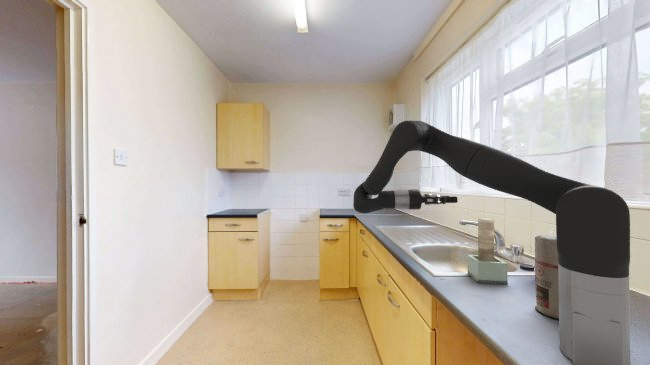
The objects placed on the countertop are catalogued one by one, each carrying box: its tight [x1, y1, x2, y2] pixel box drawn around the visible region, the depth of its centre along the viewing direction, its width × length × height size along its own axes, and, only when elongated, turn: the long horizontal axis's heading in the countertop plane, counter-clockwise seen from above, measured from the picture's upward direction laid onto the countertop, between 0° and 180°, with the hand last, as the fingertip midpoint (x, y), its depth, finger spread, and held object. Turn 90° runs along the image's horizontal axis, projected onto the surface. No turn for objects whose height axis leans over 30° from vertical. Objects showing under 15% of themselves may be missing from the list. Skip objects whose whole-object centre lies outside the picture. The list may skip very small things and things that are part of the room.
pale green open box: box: [467, 254, 509, 285], centre depth 88 cm, size 9×9×7 cm
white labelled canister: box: [534, 234, 559, 320], centre depth 64 cm, size 8×8×20 cm
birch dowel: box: [477, 218, 495, 262], centre depth 88 cm, size 5×5×20 cm
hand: (452, 199), depth 90 cm, fingers open, 8 cm apart
